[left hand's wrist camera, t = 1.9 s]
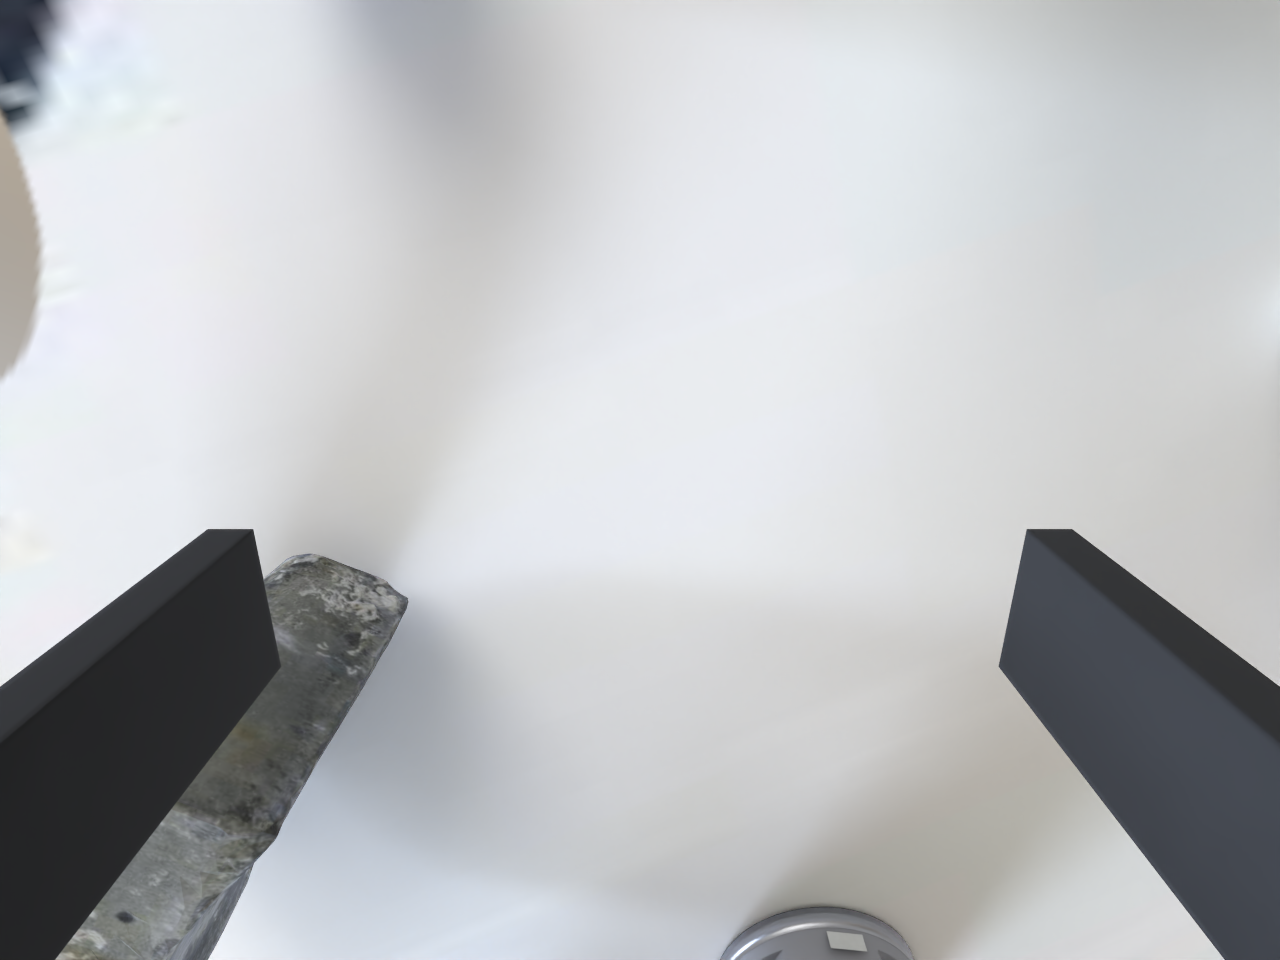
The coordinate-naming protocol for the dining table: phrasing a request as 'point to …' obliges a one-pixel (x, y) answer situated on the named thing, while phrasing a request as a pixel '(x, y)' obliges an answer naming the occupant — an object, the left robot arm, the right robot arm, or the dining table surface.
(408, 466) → the dining table surface
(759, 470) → the dining table surface
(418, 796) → the dining table surface
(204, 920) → the concrete block
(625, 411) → the dining table surface
